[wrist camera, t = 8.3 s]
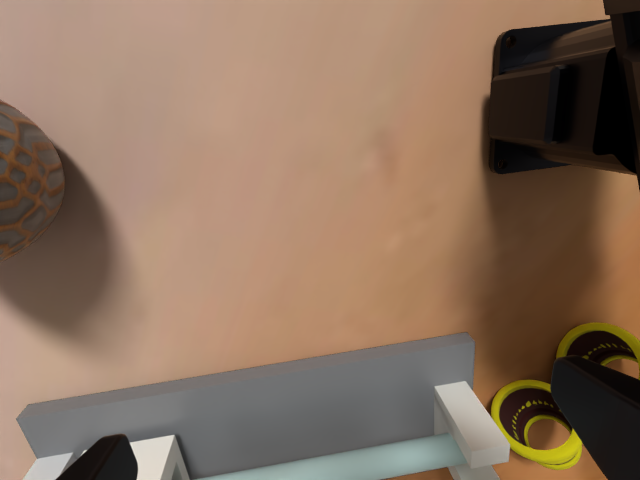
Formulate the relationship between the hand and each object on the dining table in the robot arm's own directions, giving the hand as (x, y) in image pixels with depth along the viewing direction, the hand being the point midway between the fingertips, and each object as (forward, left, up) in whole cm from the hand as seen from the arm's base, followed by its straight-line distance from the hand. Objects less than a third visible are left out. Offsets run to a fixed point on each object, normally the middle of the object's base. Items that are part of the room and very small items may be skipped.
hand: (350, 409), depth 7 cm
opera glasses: (-15, +13, -12) cm, 24 cm away
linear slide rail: (+4, +13, -12) cm, 18 cm away
